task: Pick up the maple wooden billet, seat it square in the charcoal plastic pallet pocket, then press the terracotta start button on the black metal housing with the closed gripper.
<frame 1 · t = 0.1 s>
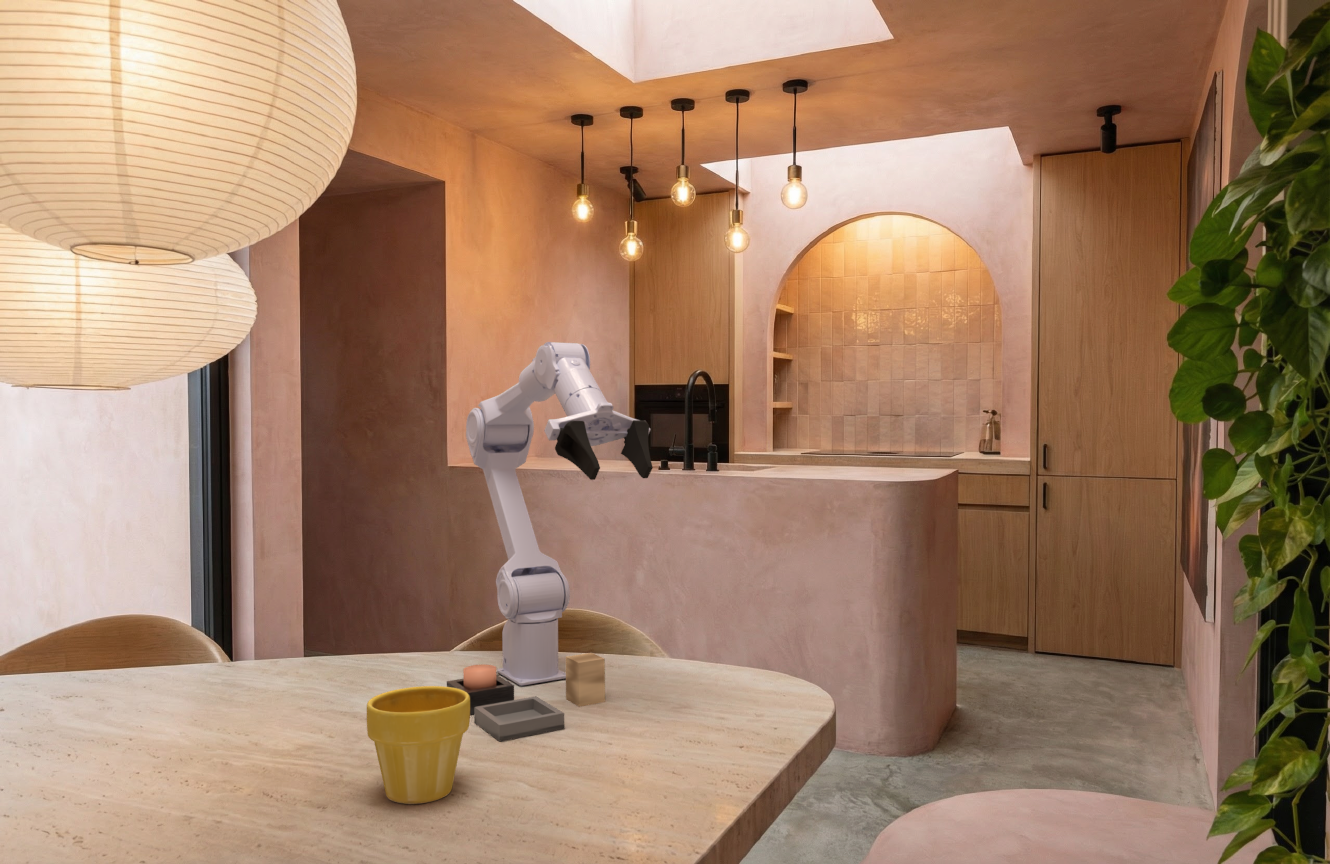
hand: (622, 473, 116), 32 cm above the table, fingers open, 7 cm apart
plant pot: (419, 793, 96), on the table
billet: (585, 700, 127), on the table
button housing: (480, 704, 125), on the table
pallet pocket: (518, 725, 117), on the table
start button: (480, 679, 125), point 3 cm above the table, slide at 0.0 cm
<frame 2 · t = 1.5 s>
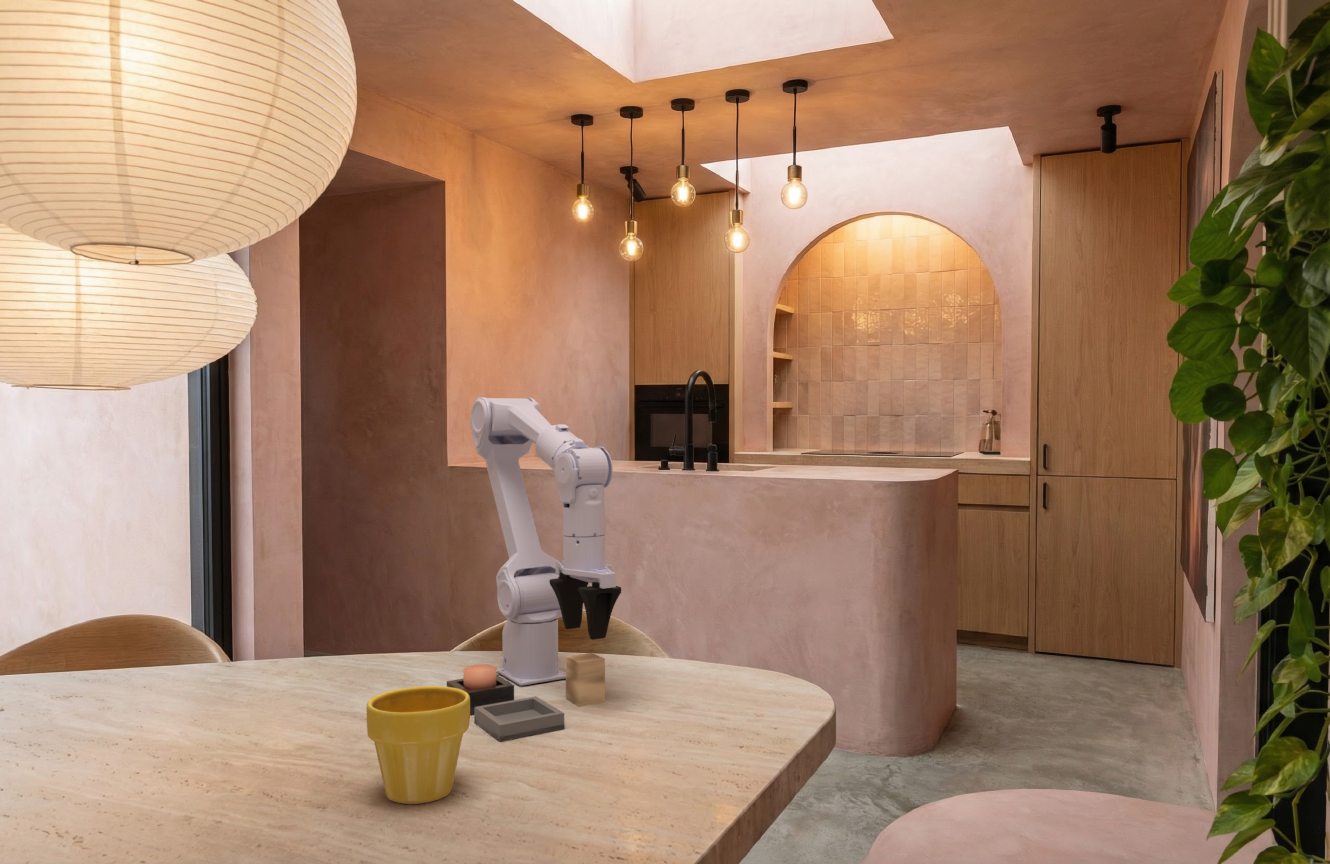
hand: (584, 632, 127), 9 cm above the table, fingers open, 7 cm apart
nothing on the table moved.
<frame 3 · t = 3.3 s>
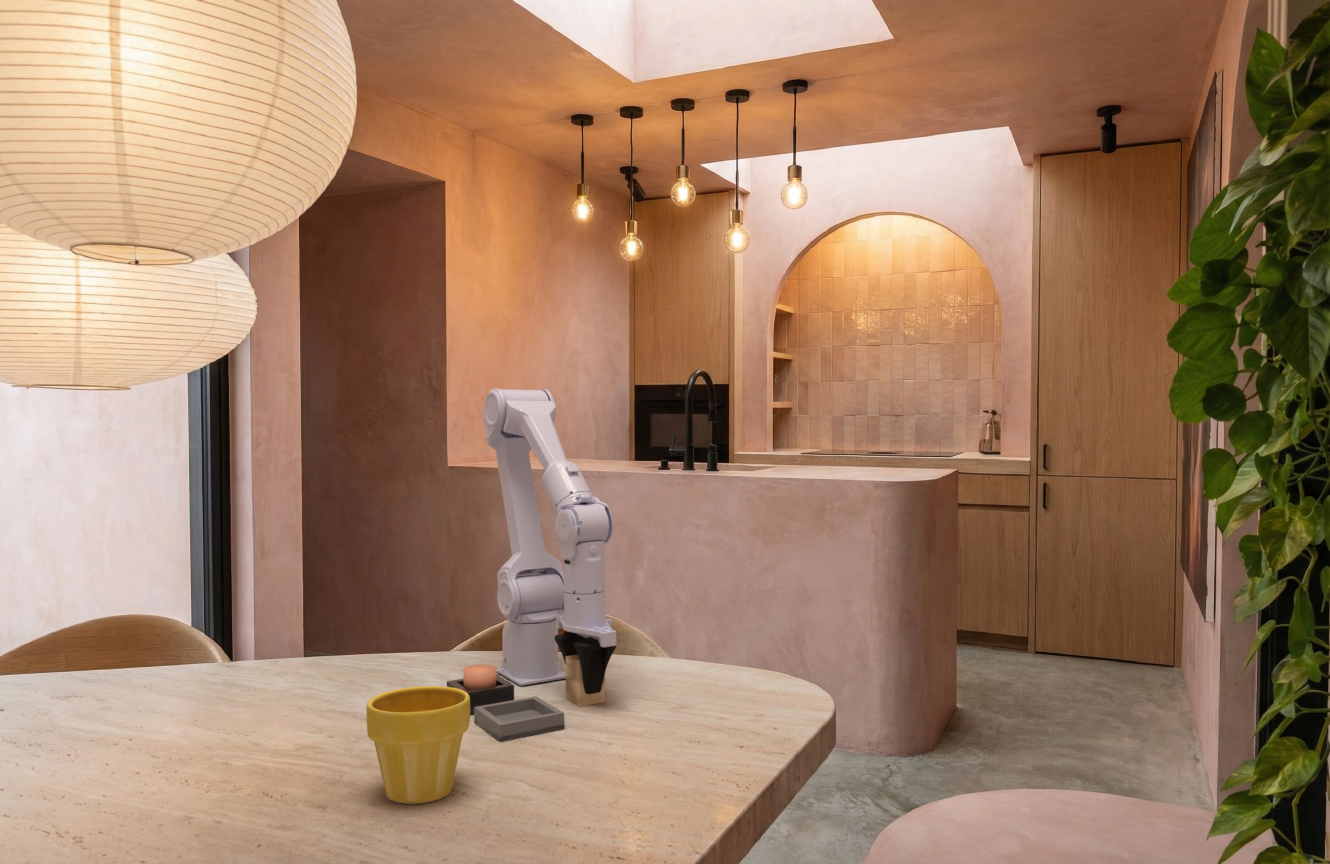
hand: (585, 688, 127), 2 cm above the table, fingers closed on billet, 4 cm apart
billet: (585, 700, 127), on the table, touching gripper
everything else where it was.
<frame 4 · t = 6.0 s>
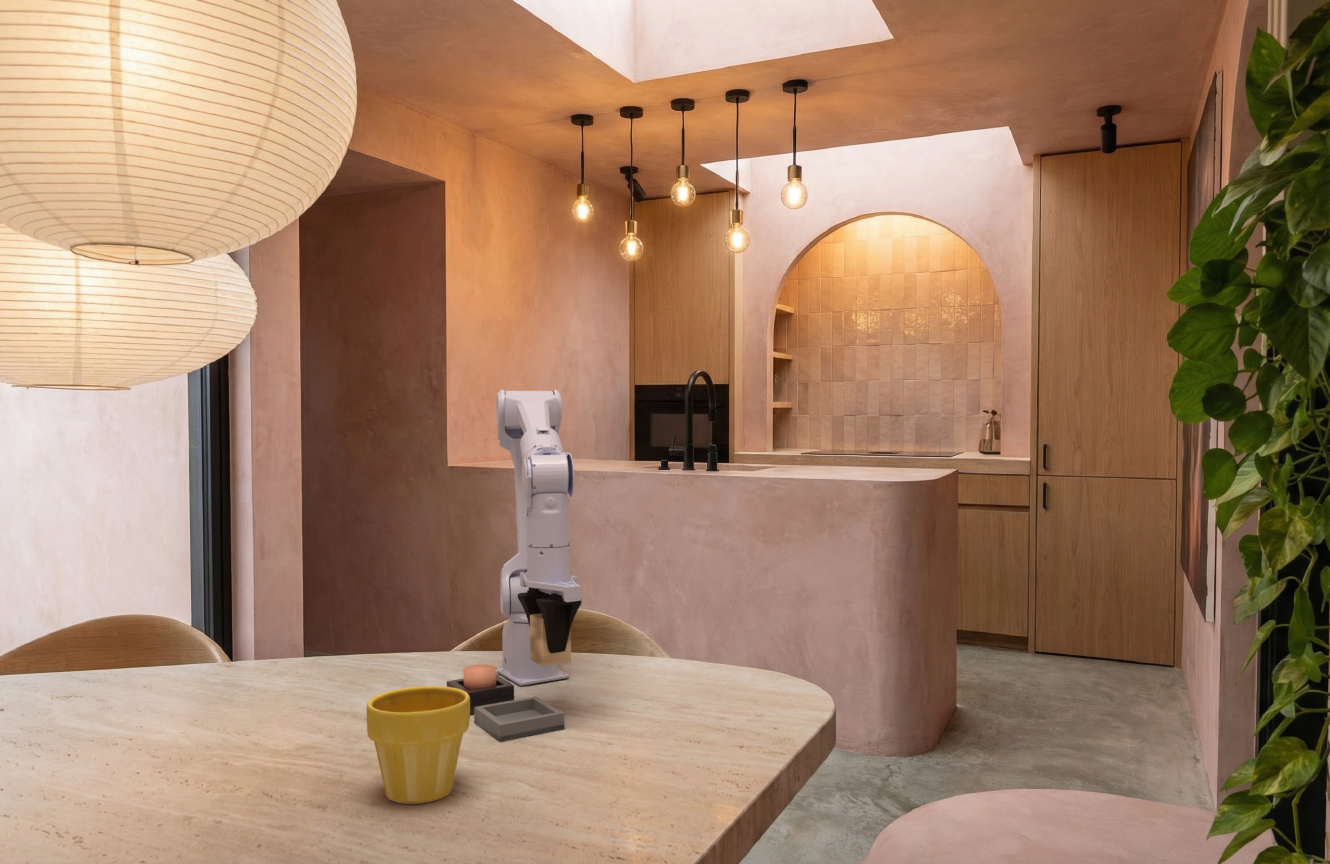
hand: (549, 648, 121), 9 cm above the table, fingers closed on billet, 4 cm apart
billet: (550, 660, 121), point 7 cm above the table, touching gripper
everything else where it was.
when the fingers open (3 cm above the table, at t = 8.5 s): billet drops 1 cm, resting on pallet pocket.
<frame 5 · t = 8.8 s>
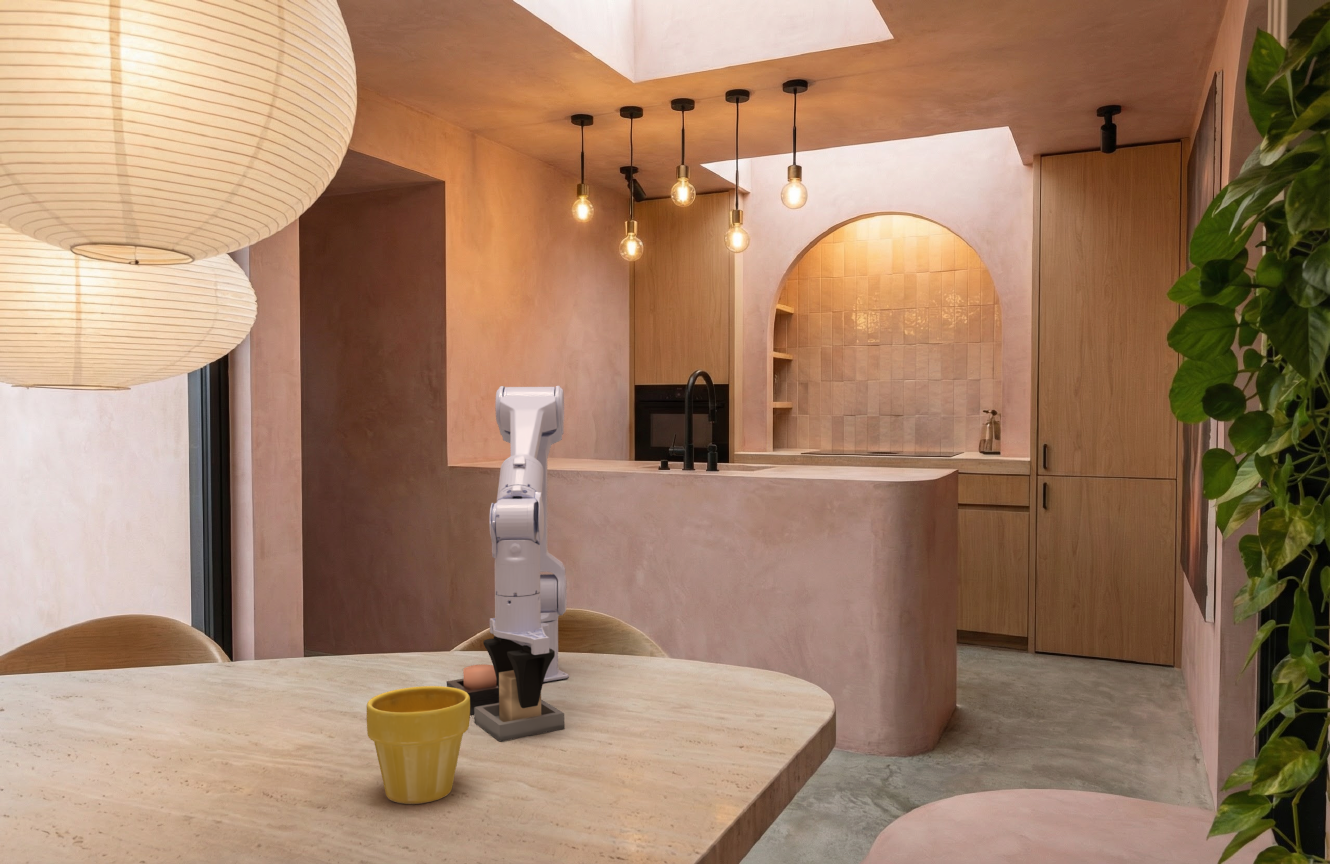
hand: (518, 699, 117), 3 cm above the table, fingers open, 6 cm apart
billet: (520, 720, 117), point 1 cm above the table, touching pallet pocket
everything else where it was.
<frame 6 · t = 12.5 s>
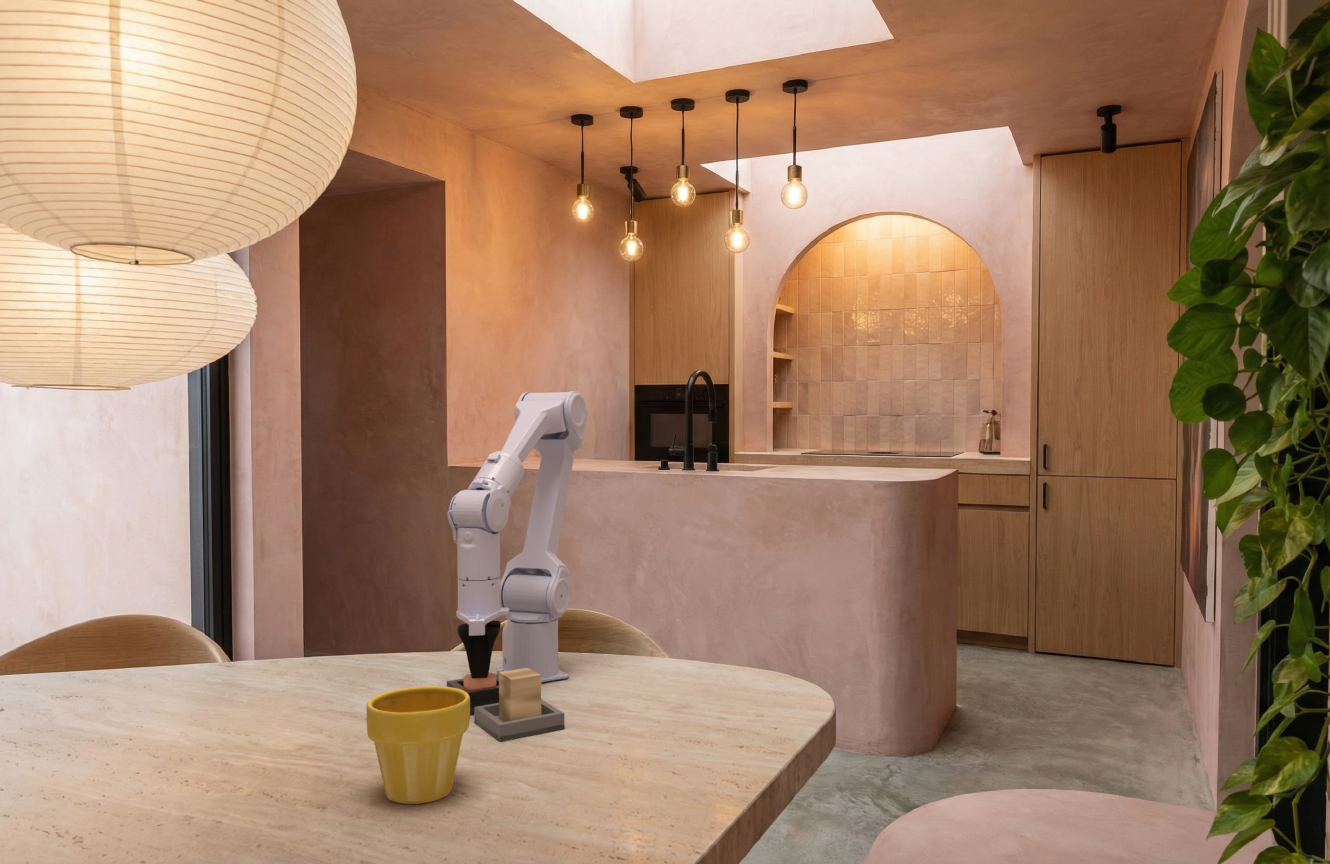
hand: (479, 677, 125), 4 cm above the table, fingers closed, pressing on start button
start button: (480, 687, 125), point 2 cm above the table, slide at 1.1 cm, touching gripper
everything else where it was.
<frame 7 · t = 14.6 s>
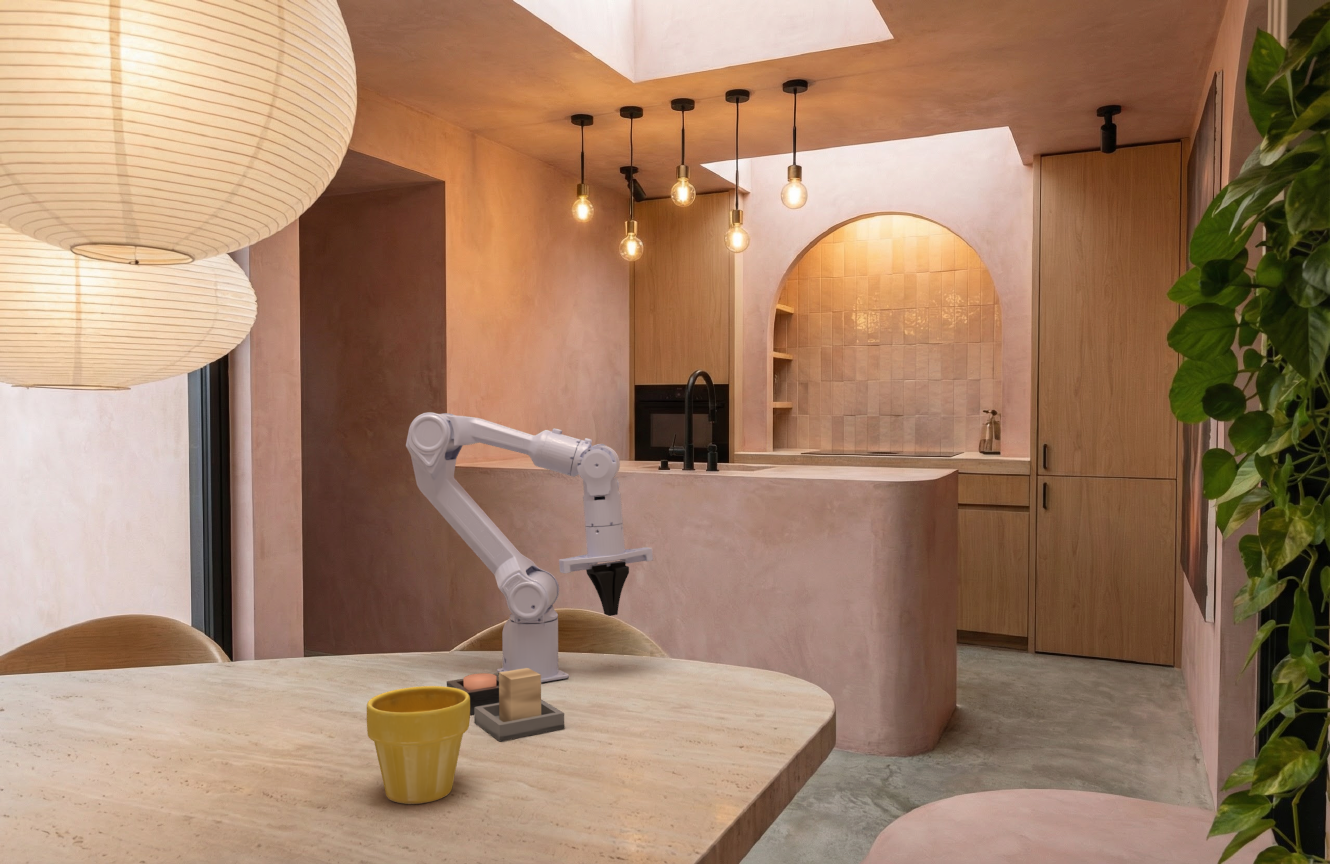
hand: (611, 614, 139), 10 cm above the table, fingers closed
start button: (480, 688, 125), point 2 cm above the table, slide at 1.2 cm
everything else where it was.
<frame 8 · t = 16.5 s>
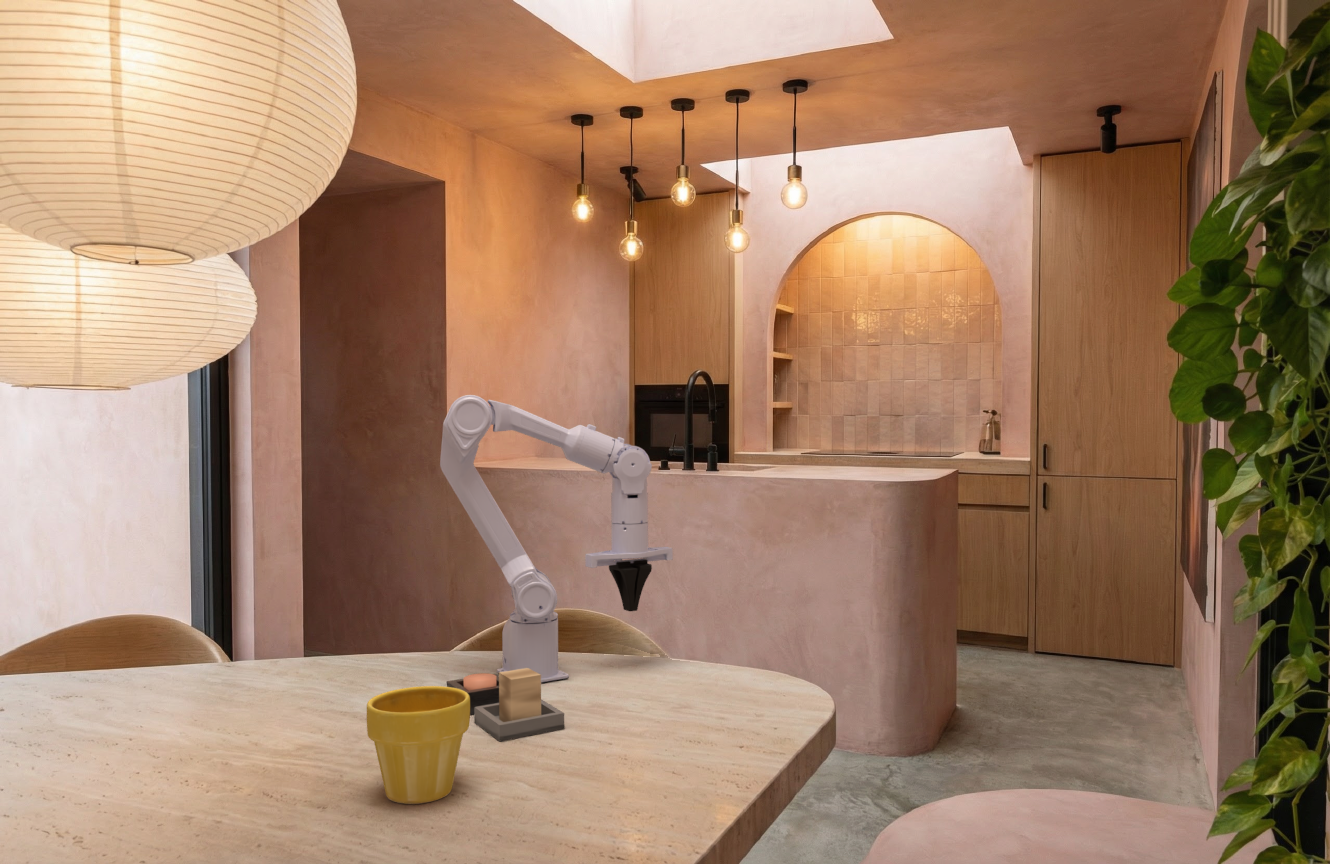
hand: (630, 609, 142), 9 cm above the table, fingers closed
nothing on the table moved.
at the end: billet 0.2 cm off-centre on the pallet pocket, point 0.6 cm above the pallet pocket's base; billet tilted 0°; start button slide at 1.2 cm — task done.
